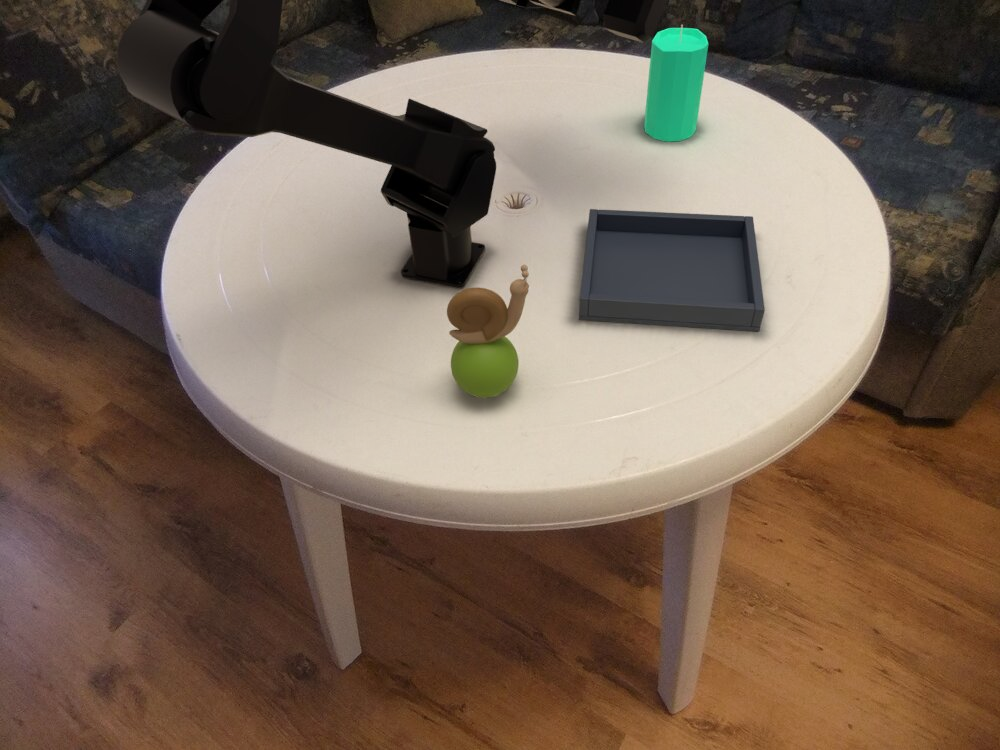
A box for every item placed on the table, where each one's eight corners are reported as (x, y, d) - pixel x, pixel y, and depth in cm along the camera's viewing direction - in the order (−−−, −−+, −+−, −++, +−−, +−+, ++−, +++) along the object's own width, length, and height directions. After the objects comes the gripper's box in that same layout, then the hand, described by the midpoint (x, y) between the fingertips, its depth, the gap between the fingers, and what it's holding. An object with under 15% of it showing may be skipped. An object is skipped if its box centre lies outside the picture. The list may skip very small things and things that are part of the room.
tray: (578, 320, 71) (579, 298, 69) (588, 229, 80) (589, 208, 78) (759, 331, 69) (765, 309, 67) (748, 237, 78) (753, 216, 76)
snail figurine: (534, 407, 64) (532, 292, 55) (455, 414, 64) (440, 300, 55) (527, 359, 67) (524, 245, 59) (452, 366, 67) (438, 252, 59)
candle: (664, 110, 96) (676, 9, 87) (706, 127, 93) (722, 23, 84) (633, 129, 93) (641, 26, 84) (675, 147, 90) (688, 42, 81)
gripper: (664, -138, 60) (730, -56, 73) (480, -168, 69) (568, -90, 82) (607, 14, 63) (680, 66, 76) (439, -33, 72) (530, 20, 85)
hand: (612, 11), depth 79 cm, fingers open, 9 cm apart
